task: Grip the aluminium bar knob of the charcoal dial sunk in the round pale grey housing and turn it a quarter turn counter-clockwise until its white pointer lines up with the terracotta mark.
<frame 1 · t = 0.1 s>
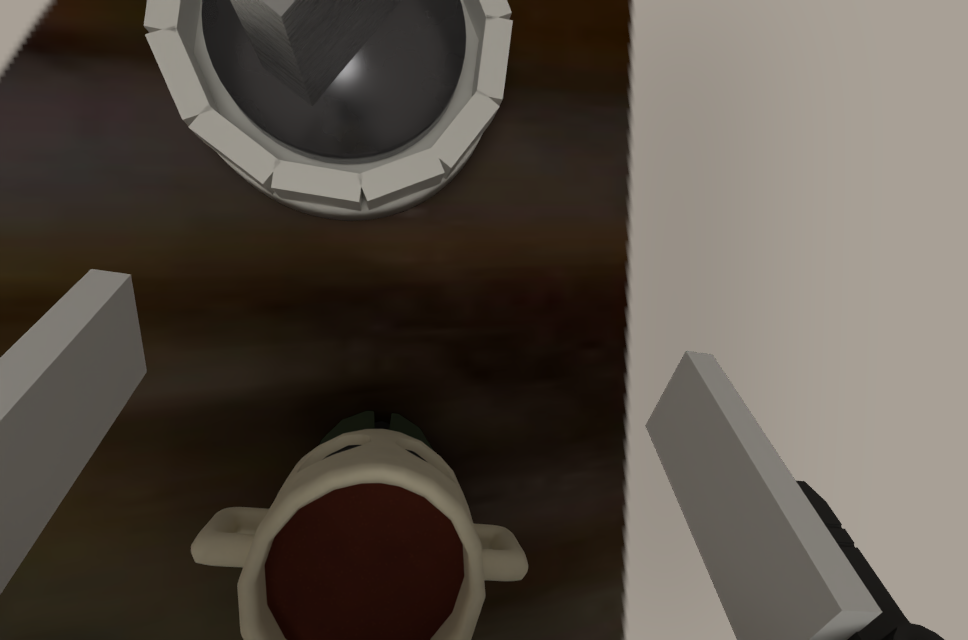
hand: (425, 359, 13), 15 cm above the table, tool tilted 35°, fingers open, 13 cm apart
housing: (347, 75, 28), on the table
character mug: (374, 467, 29), on the table
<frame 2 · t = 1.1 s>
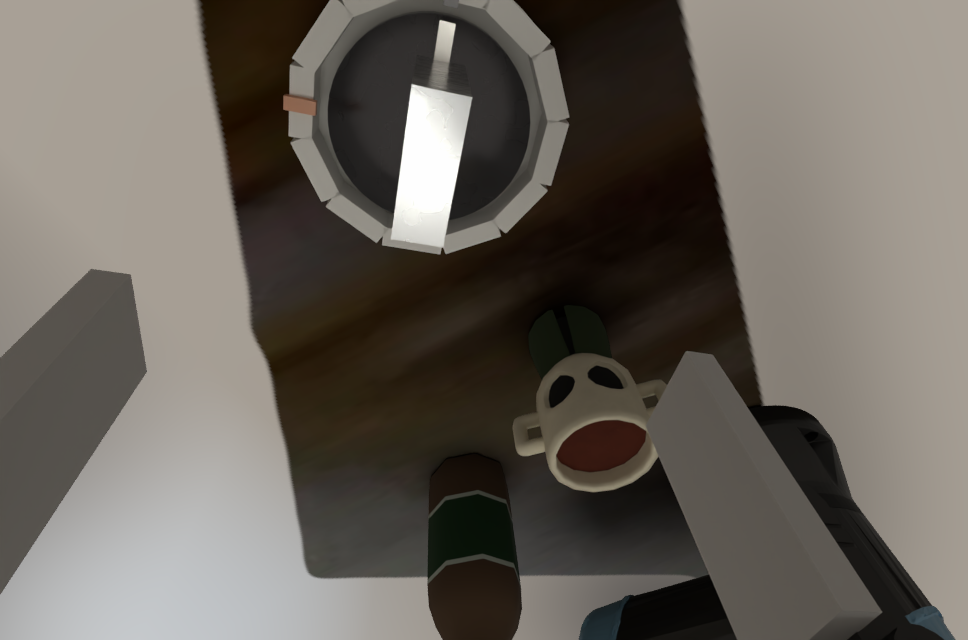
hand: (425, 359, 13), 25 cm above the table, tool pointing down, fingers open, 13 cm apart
beer bottle: (468, 476, 54), on the table
housing: (431, 107, 34), on the table
character mug: (564, 331, 45), on the table
dial: (429, 143, 28), point 7 cm above the table, hinge at 0.0°
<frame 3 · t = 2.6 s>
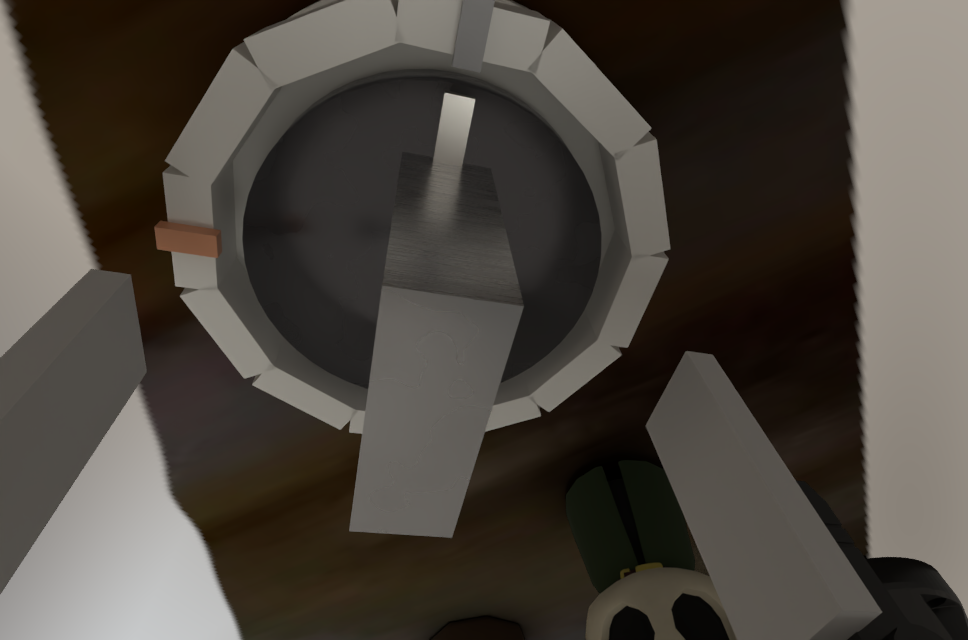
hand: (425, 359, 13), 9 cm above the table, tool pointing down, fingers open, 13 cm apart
beer bottle: (477, 637, 42), on the table
housing: (428, 206, 21), on the table
character mug: (614, 485, 32), on the table
dial: (426, 318, 15), point 7 cm above the table, hinge at 0.0°
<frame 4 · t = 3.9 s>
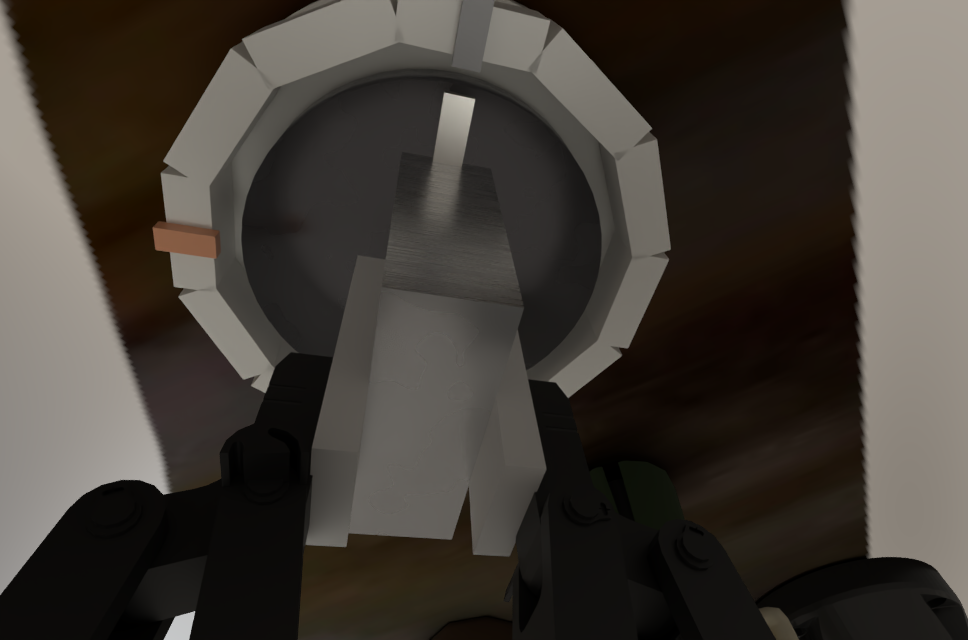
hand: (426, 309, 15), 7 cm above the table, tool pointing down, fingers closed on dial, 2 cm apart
beer bottle: (477, 637, 41), on the table
housing: (428, 206, 21), on the table
character mug: (614, 485, 32), on the table
dial: (425, 319, 15), point 8 cm above the table, hinge at 0.0°, touching gripper
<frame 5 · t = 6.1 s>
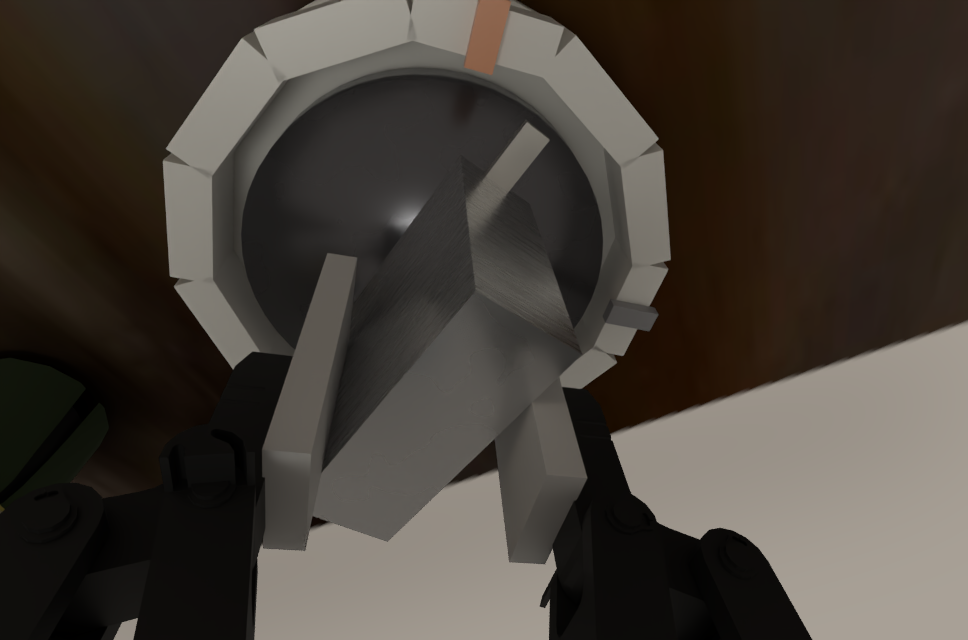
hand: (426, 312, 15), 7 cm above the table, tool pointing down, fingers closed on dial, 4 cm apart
housing: (429, 206, 21), on the table
character mug: (41, 398, 25), on the table
dial: (426, 319, 15), point 7 cm above the table, hinge at 68.3°, touching gripper
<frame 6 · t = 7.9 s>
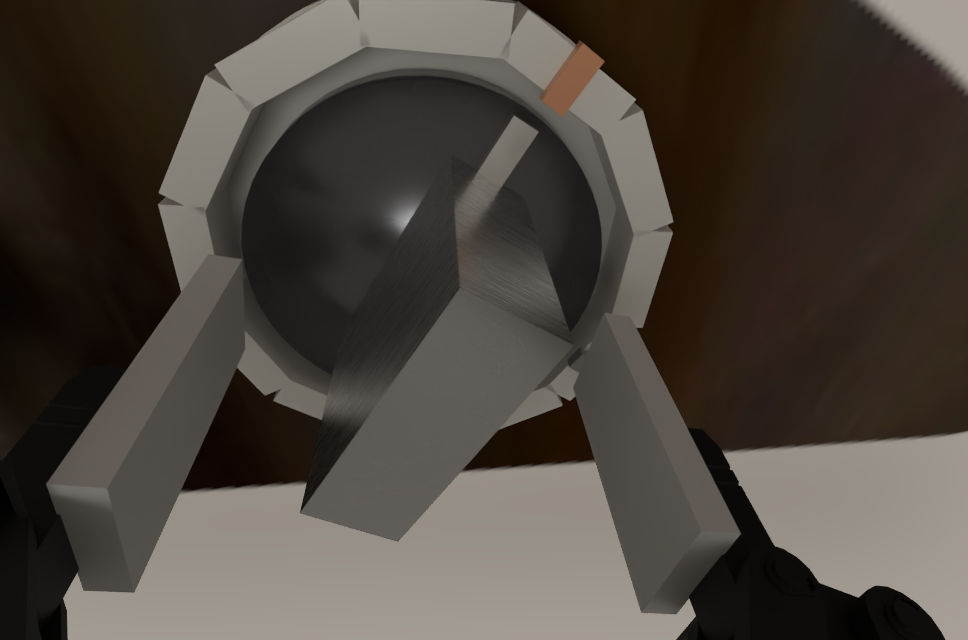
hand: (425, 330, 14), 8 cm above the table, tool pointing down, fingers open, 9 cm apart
housing: (428, 206, 21), on the table
dial: (426, 319, 15), point 7 cm above the table, hinge at 92.4°
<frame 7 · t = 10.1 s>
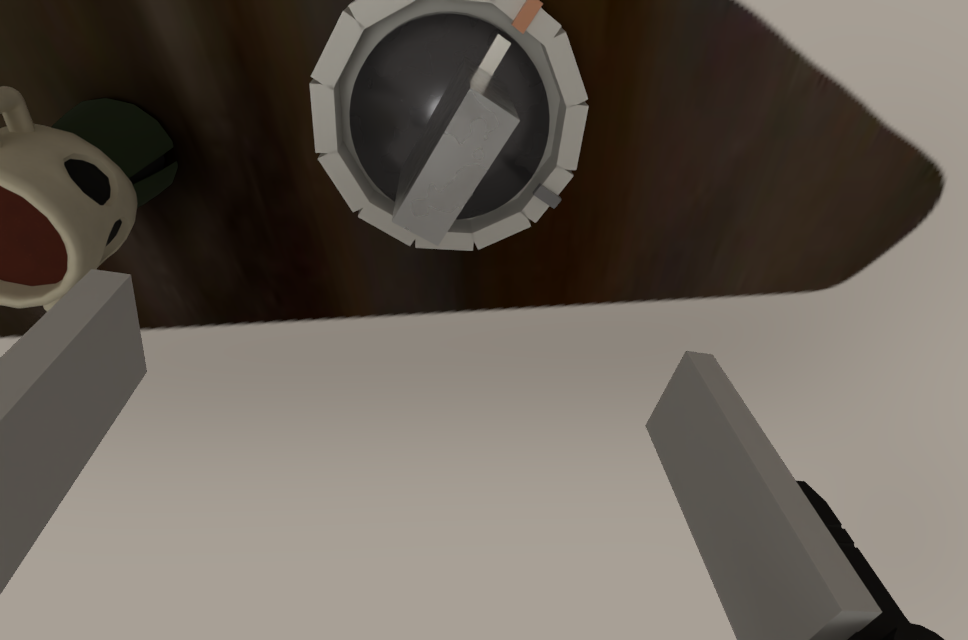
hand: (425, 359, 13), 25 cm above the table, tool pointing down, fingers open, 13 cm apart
housing: (449, 106, 34), on the table
character mug: (129, 146, 34), on the table
dial: (451, 143, 28), point 8 cm above the table, hinge at 92.4°
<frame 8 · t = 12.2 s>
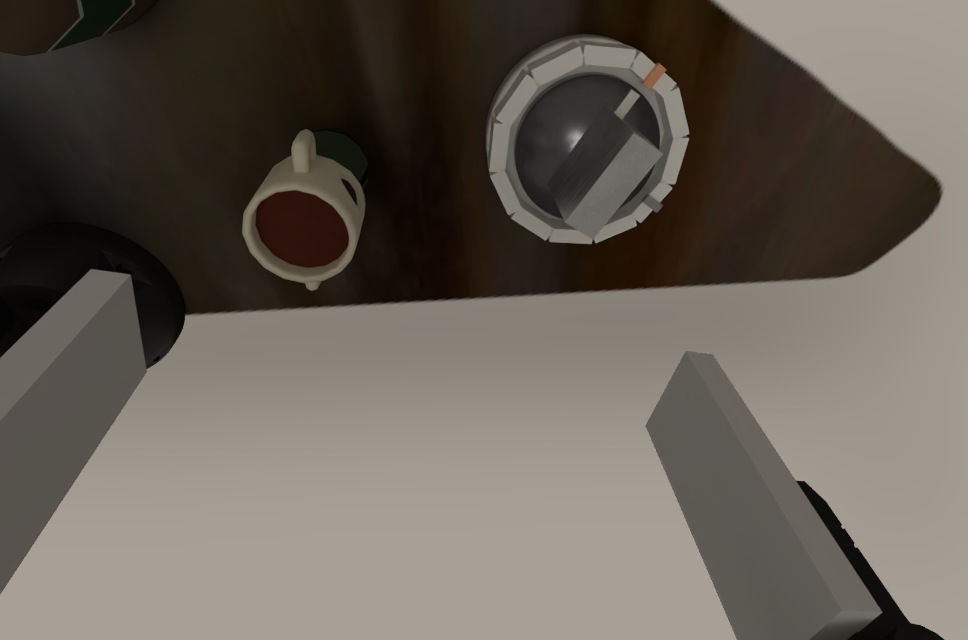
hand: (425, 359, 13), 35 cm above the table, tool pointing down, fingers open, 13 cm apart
housing: (574, 135, 45), on the table
character mug: (331, 164, 45), on the table
dial: (596, 166, 39), point 8 cm above the table, hinge at 92.4°
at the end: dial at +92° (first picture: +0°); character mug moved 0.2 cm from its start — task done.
